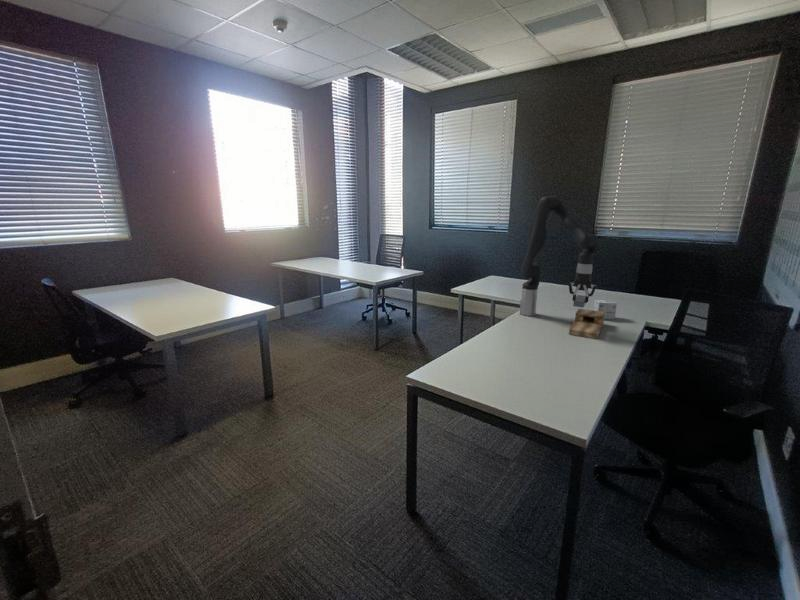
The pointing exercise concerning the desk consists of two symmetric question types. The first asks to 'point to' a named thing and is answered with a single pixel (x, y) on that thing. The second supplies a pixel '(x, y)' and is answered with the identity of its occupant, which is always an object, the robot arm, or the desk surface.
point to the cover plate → (579, 301)
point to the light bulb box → (606, 308)
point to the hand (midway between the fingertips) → (580, 302)
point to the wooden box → (587, 323)
